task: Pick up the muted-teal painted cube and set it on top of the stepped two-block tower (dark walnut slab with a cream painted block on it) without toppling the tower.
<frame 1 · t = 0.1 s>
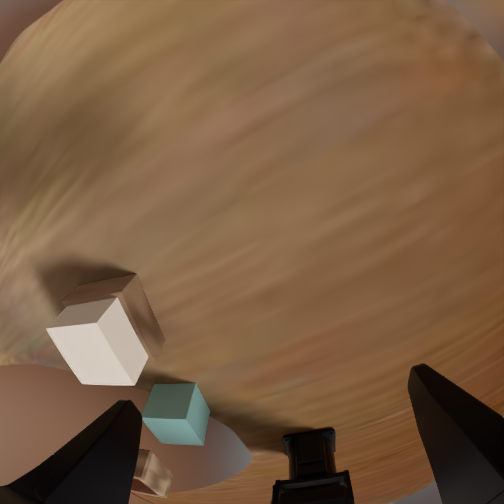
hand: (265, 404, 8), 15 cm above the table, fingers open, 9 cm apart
teal cube: (182, 397, 29), on the table
cream block: (105, 332, 22), point 3 cm above the table, touching walnut block
walnut block: (121, 311, 25), on the table, touching cream block
bracket cradle: (124, 457, 37), on the table
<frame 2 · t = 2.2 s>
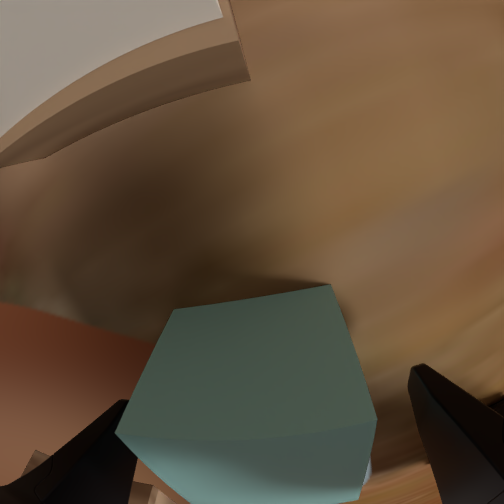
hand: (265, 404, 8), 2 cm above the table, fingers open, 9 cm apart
teal cube: (264, 356, 10), on the table
walnut block: (117, 23, 6), on the table, touching cream block
bracket cradle: (108, 488, 18), on the table
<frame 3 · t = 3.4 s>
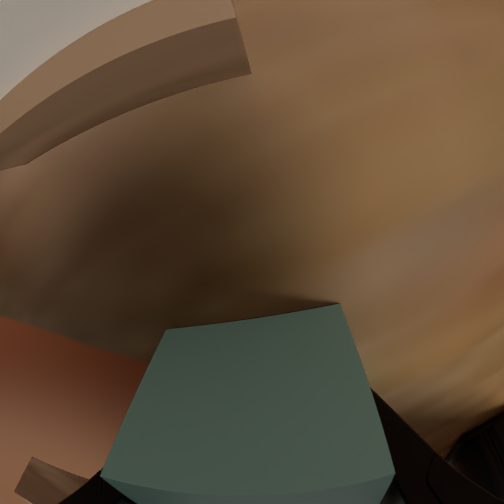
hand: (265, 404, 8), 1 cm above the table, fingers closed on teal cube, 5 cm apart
teal cube: (265, 380, 9), on the table, touching gripper
walnut block: (102, 14, 5), on the table, touching cream block
bracket cradle: (106, 496, 17), on the table
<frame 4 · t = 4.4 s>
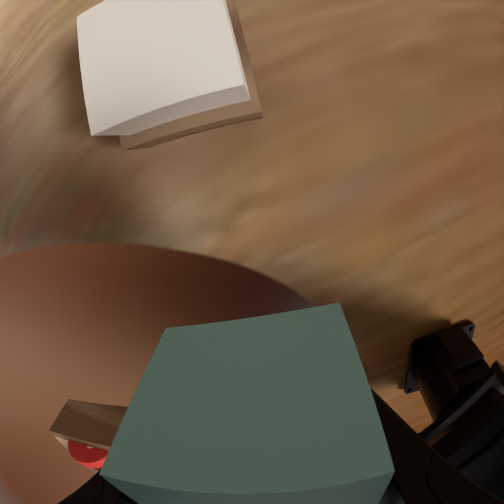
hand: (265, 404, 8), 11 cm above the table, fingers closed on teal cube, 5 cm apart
teal cube: (265, 379, 9), point 10 cm above the table, touching gripper
cream block: (174, 60, 11), point 3 cm above the table, touching walnut block
bracket: (134, 421, 26), resting in bracket cradle
walnut block: (191, 77, 14), on the table, touching cream block
bracket cradle: (134, 429, 27), on the table
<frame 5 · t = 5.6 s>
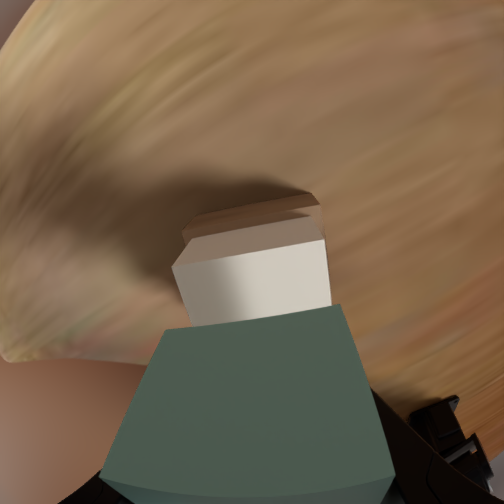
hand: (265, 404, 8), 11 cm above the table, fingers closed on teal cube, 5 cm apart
teal cube: (265, 381, 9), point 10 cm above the table, touching gripper
cream block: (262, 281, 15), point 3 cm above the table, touching walnut block
walnut block: (264, 256, 18), on the table, touching cream block
when the fingers open (9 cm above the table, at t = 6.3 s): teal cube drops 2 cm, resting on cream block.
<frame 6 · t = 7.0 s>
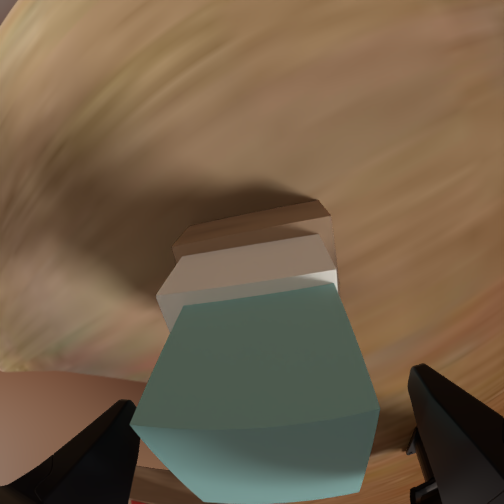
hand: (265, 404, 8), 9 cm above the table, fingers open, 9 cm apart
teal cube: (269, 353, 10), point 7 cm above the table, touching cream block
cream block: (261, 305, 13), point 3 cm above the table, touching teal cube, walnut block
walnut block: (265, 270, 17), on the table, touching cream block
bracket cradle: (183, 483, 29), on the table
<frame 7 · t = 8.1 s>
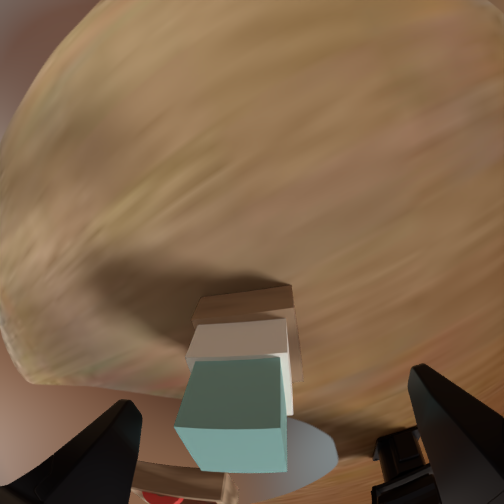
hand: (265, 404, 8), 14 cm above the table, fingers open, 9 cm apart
teal cube: (243, 388, 17), point 7 cm above the table, touching cream block
cream block: (247, 355, 20), point 3 cm above the table, touching teal cube, walnut block
bracket: (188, 473, 35), resting in bracket cradle
walnut block: (253, 326, 23), on the table, touching cream block
bracket cradle: (186, 477, 35), on the table
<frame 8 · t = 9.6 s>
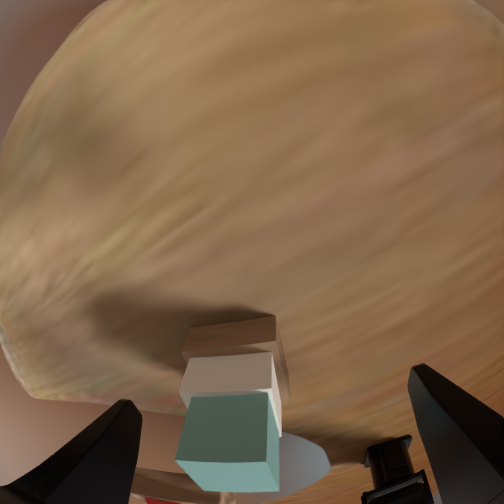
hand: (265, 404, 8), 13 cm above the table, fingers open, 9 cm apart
teal cube: (237, 417, 17), point 7 cm above the table, touching cream block
cream block: (237, 383, 21), point 3 cm above the table, touching teal cube, walnut block
walnut block: (242, 351, 24), on the table, touching cream block
bracket cradle: (186, 483, 36), on the table
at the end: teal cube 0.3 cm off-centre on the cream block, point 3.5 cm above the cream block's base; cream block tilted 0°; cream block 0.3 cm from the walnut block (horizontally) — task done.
